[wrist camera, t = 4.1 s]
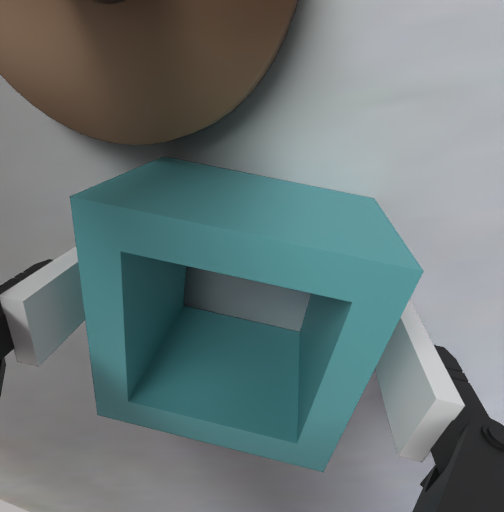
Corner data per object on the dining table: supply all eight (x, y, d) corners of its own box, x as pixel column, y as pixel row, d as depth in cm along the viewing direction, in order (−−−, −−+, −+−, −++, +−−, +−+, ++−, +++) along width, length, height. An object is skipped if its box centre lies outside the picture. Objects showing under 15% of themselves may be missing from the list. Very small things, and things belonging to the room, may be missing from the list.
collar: (163, 156, 13) (70, 196, 8) (374, 198, 13) (423, 271, 7) (160, 318, 17) (97, 414, 12) (317, 355, 17) (323, 472, 12)
